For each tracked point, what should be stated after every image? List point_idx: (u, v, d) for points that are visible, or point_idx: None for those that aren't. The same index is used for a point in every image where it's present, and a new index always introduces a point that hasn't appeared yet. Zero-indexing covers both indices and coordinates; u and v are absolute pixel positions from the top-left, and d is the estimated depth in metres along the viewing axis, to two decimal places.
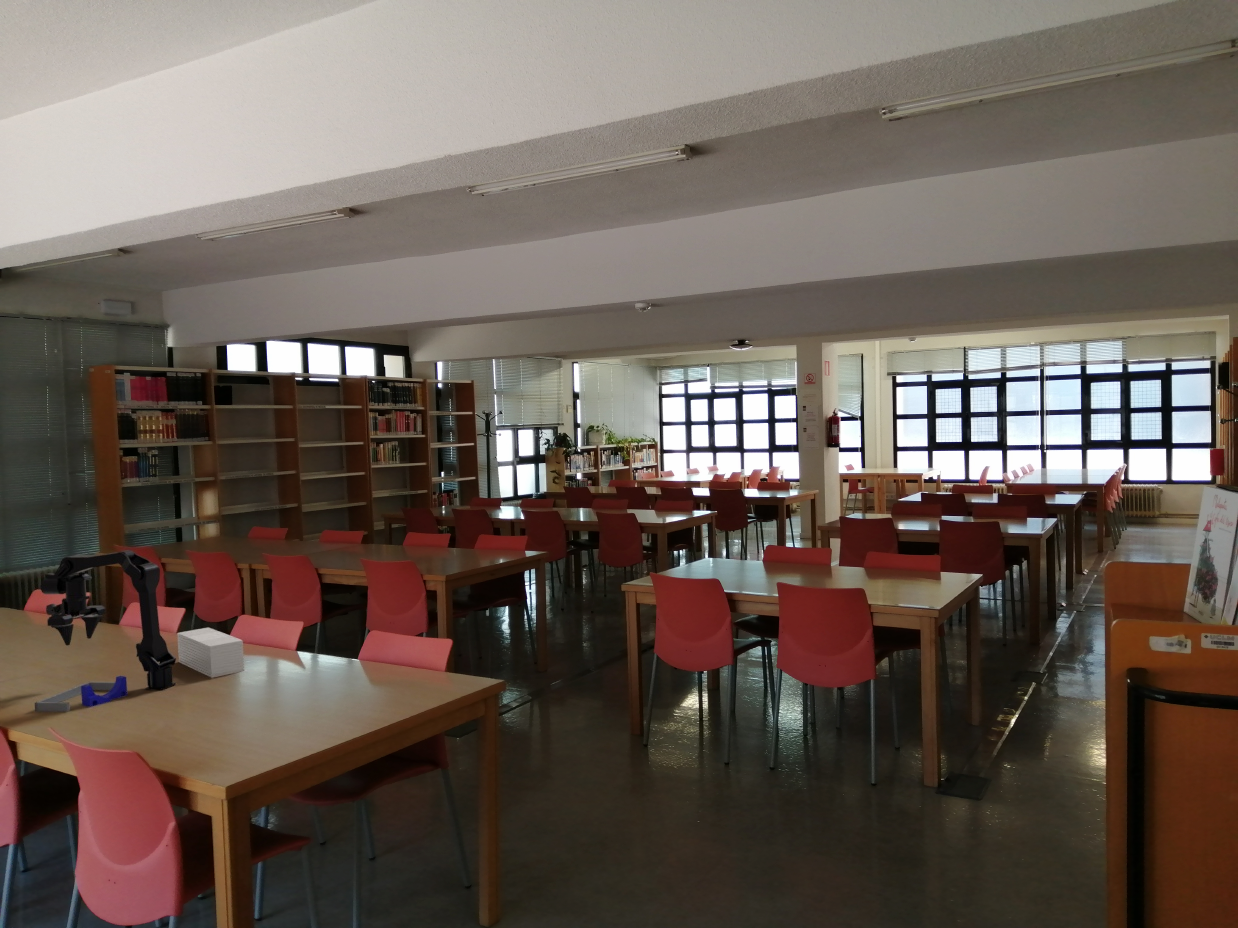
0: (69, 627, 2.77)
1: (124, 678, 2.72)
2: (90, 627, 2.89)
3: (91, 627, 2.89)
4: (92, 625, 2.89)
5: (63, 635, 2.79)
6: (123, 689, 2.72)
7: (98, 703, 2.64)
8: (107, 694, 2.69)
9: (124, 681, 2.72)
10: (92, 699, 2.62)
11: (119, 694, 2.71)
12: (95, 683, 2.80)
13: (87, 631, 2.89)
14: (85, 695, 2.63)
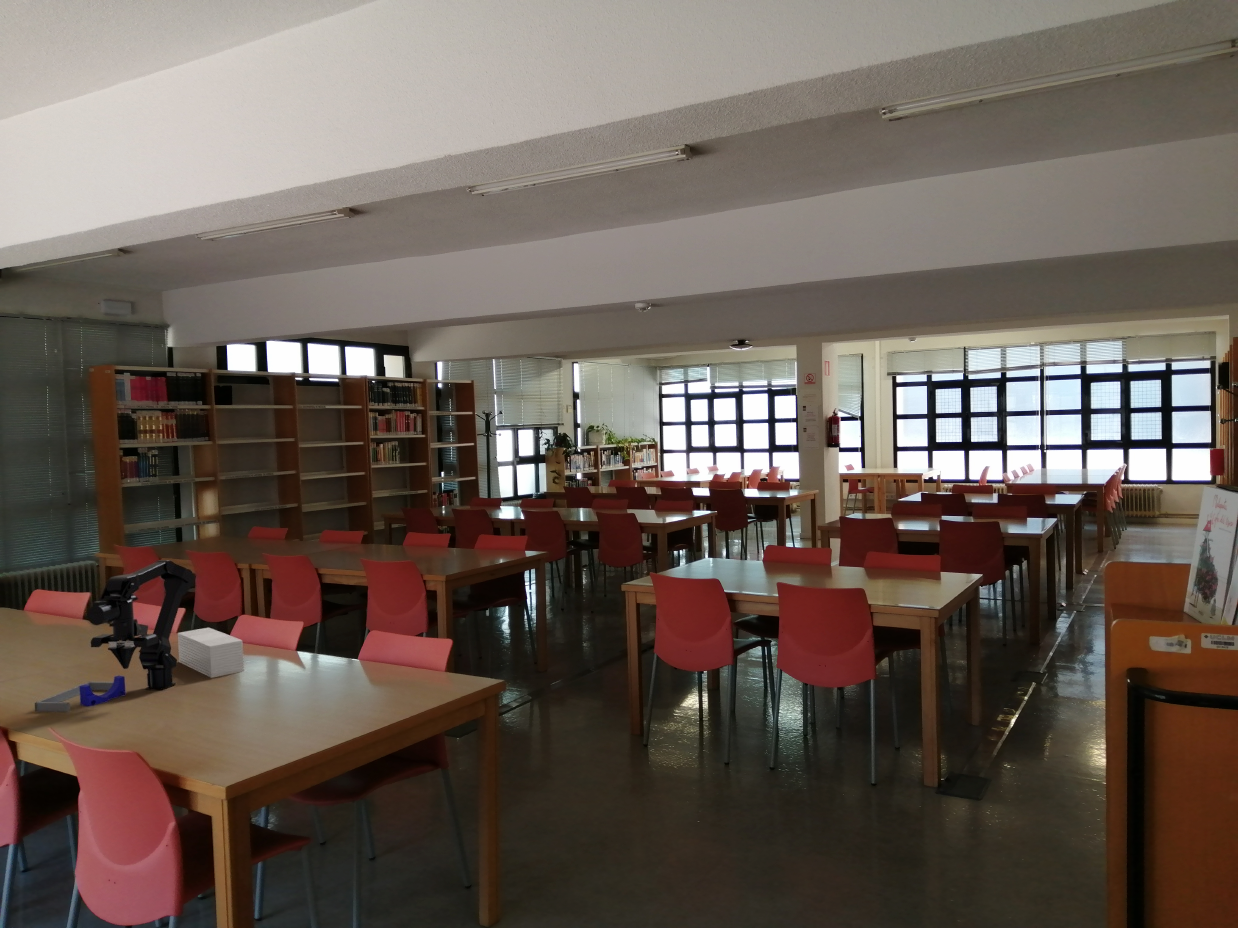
0: (111, 650, 2.64)
1: (122, 678, 2.73)
2: None
3: None
4: None
5: None
6: (121, 689, 2.72)
7: (96, 703, 2.64)
8: (105, 694, 2.70)
9: (122, 681, 2.73)
10: (90, 699, 2.63)
11: (117, 694, 2.71)
12: (95, 683, 2.80)
13: None
14: (83, 694, 2.64)
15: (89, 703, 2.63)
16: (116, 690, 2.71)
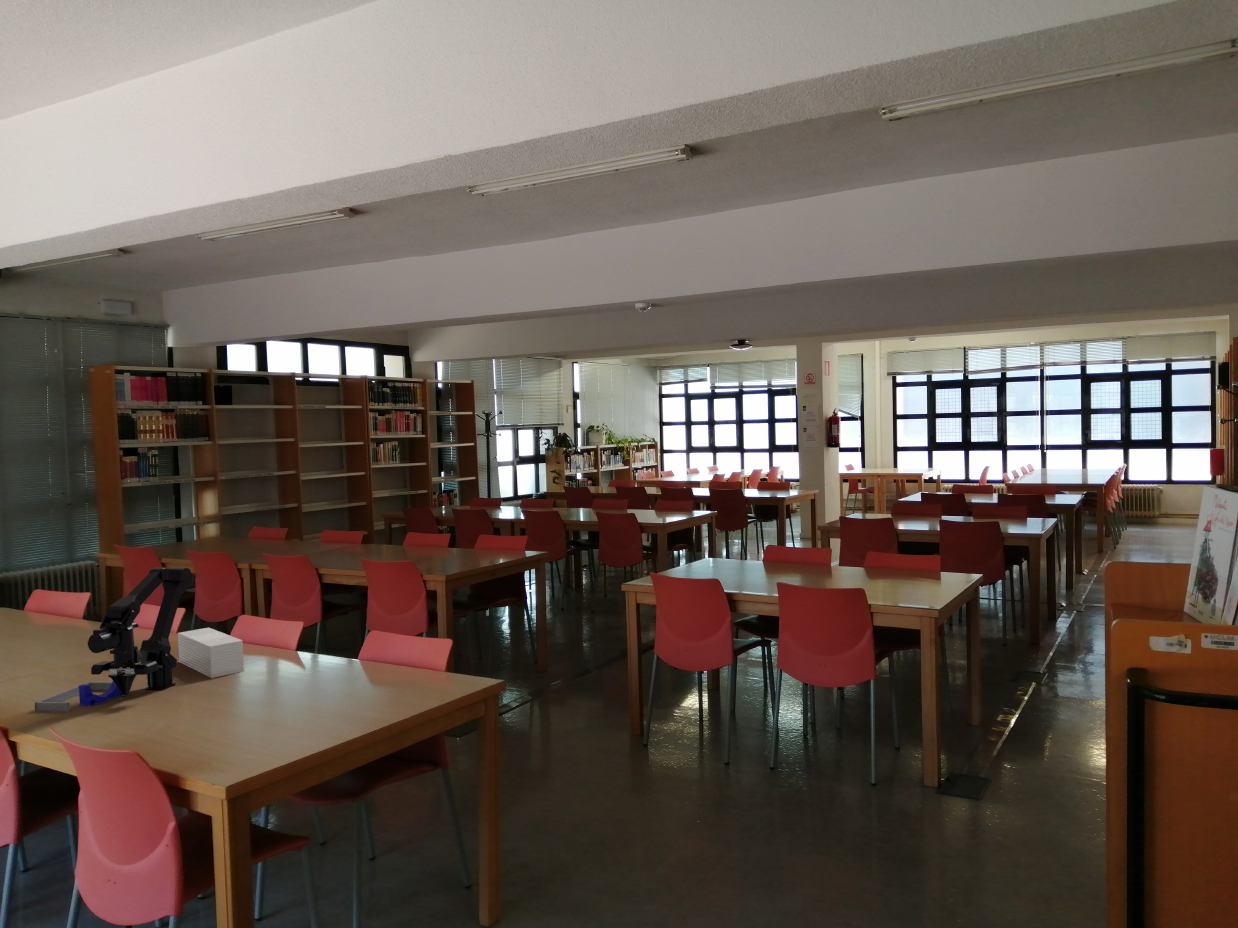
0: (111, 678, 2.64)
1: None
2: None
3: None
4: None
5: None
6: None
7: (96, 702, 2.65)
8: (104, 693, 2.70)
9: None
10: (90, 698, 2.63)
11: (116, 693, 2.72)
12: (95, 683, 2.80)
13: None
14: (82, 694, 2.64)
15: (88, 703, 2.63)
16: (115, 690, 2.71)
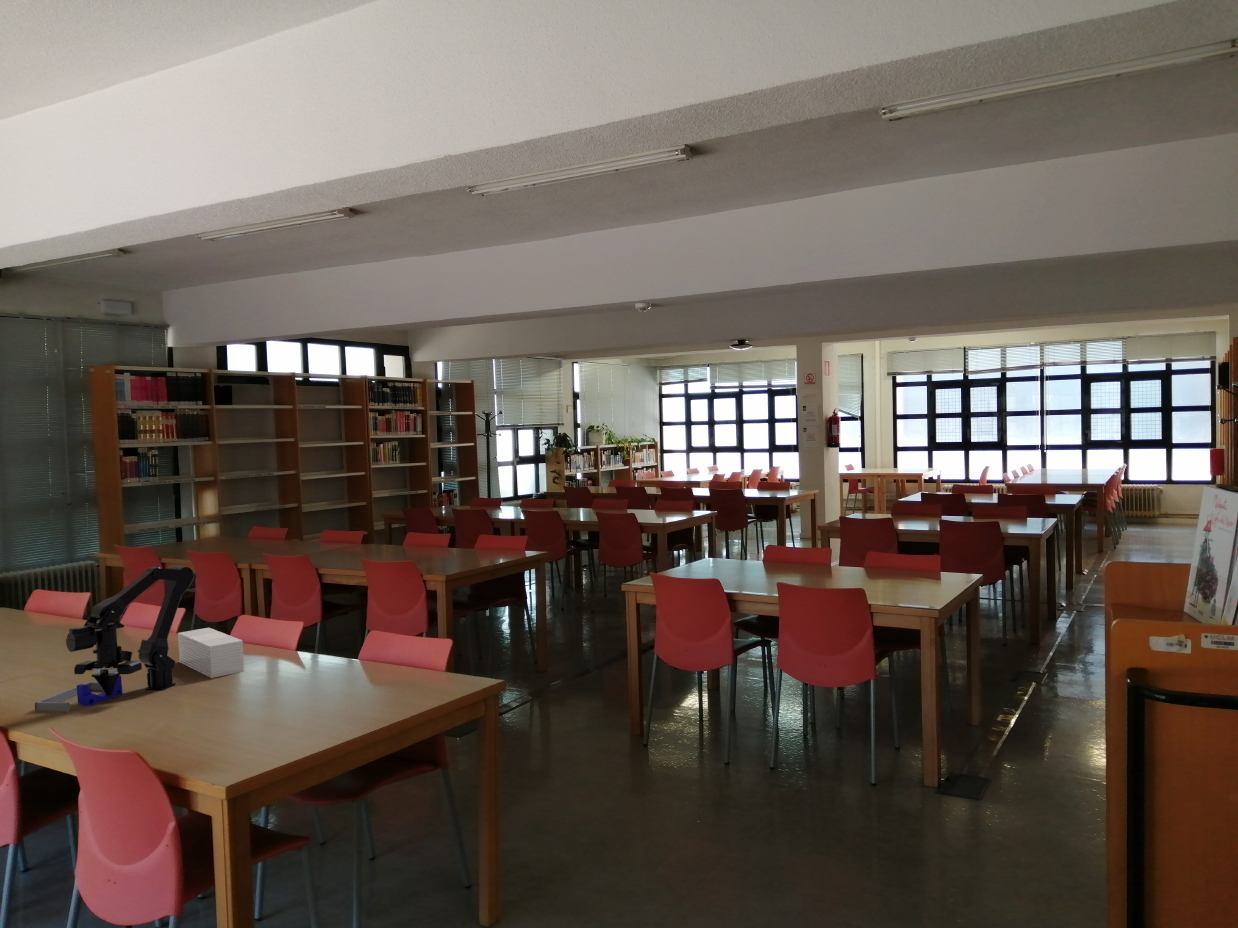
0: (95, 677, 2.65)
1: (119, 677, 2.73)
2: None
3: None
4: None
5: None
6: (118, 688, 2.73)
7: (94, 702, 2.65)
8: (102, 693, 2.70)
9: (119, 680, 2.73)
10: (88, 698, 2.63)
11: (114, 693, 2.72)
12: (95, 683, 2.80)
13: None
14: (81, 694, 2.64)
15: (87, 702, 2.63)
16: (113, 689, 2.72)
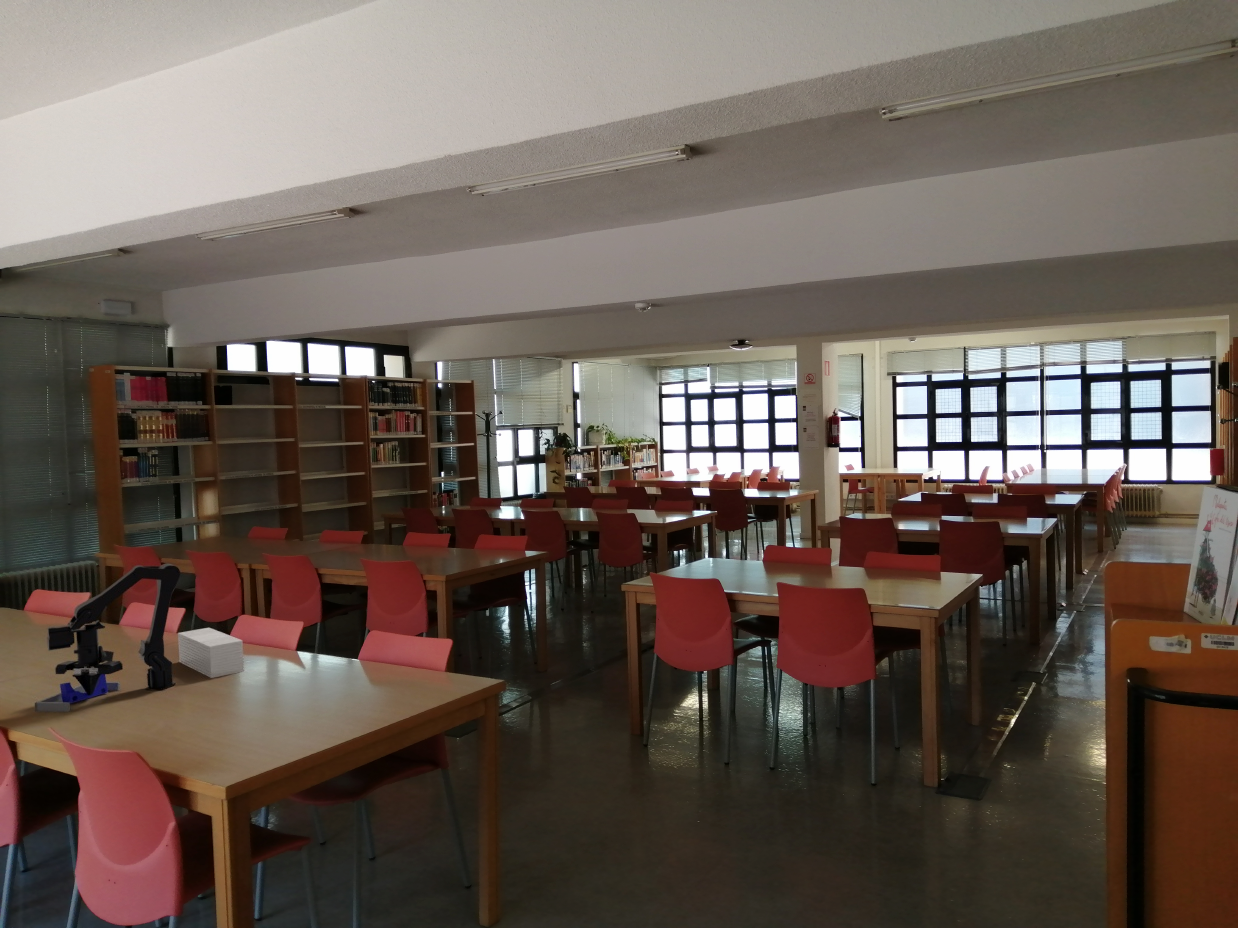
0: (76, 677, 2.66)
1: (103, 675, 2.75)
2: None
3: None
4: None
5: None
6: (103, 686, 2.75)
7: (78, 699, 2.66)
8: None
9: (103, 678, 2.75)
10: (72, 695, 2.65)
11: (99, 691, 2.73)
12: None
13: None
14: (64, 692, 2.66)
15: (70, 699, 2.65)
16: (97, 687, 2.73)
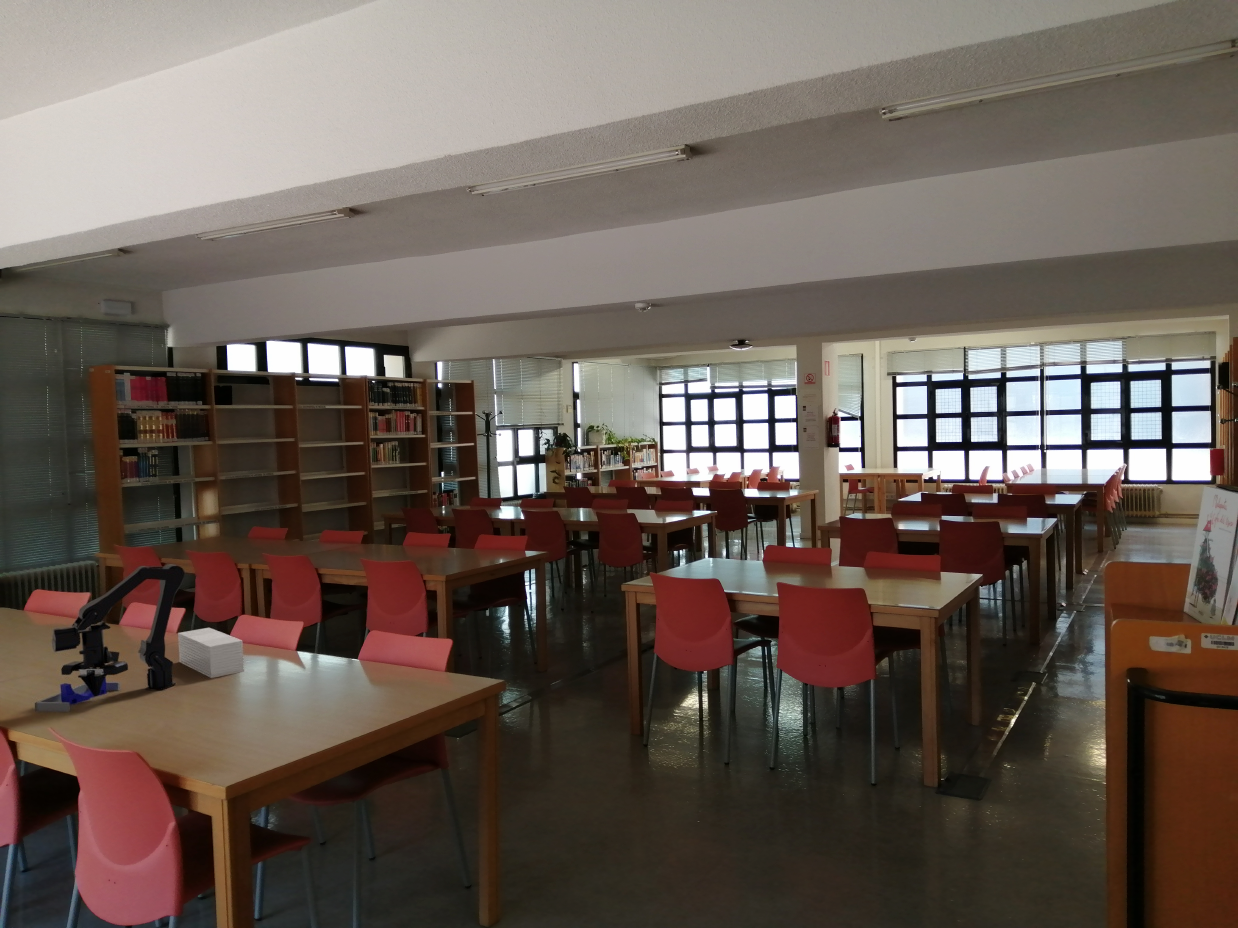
0: (81, 678, 2.66)
1: None
2: None
3: None
4: None
5: None
6: (102, 687, 2.75)
7: (77, 701, 2.67)
8: (86, 692, 2.72)
9: None
10: (71, 697, 2.65)
11: None
12: None
13: None
14: (64, 693, 2.66)
15: (70, 701, 2.65)
16: None
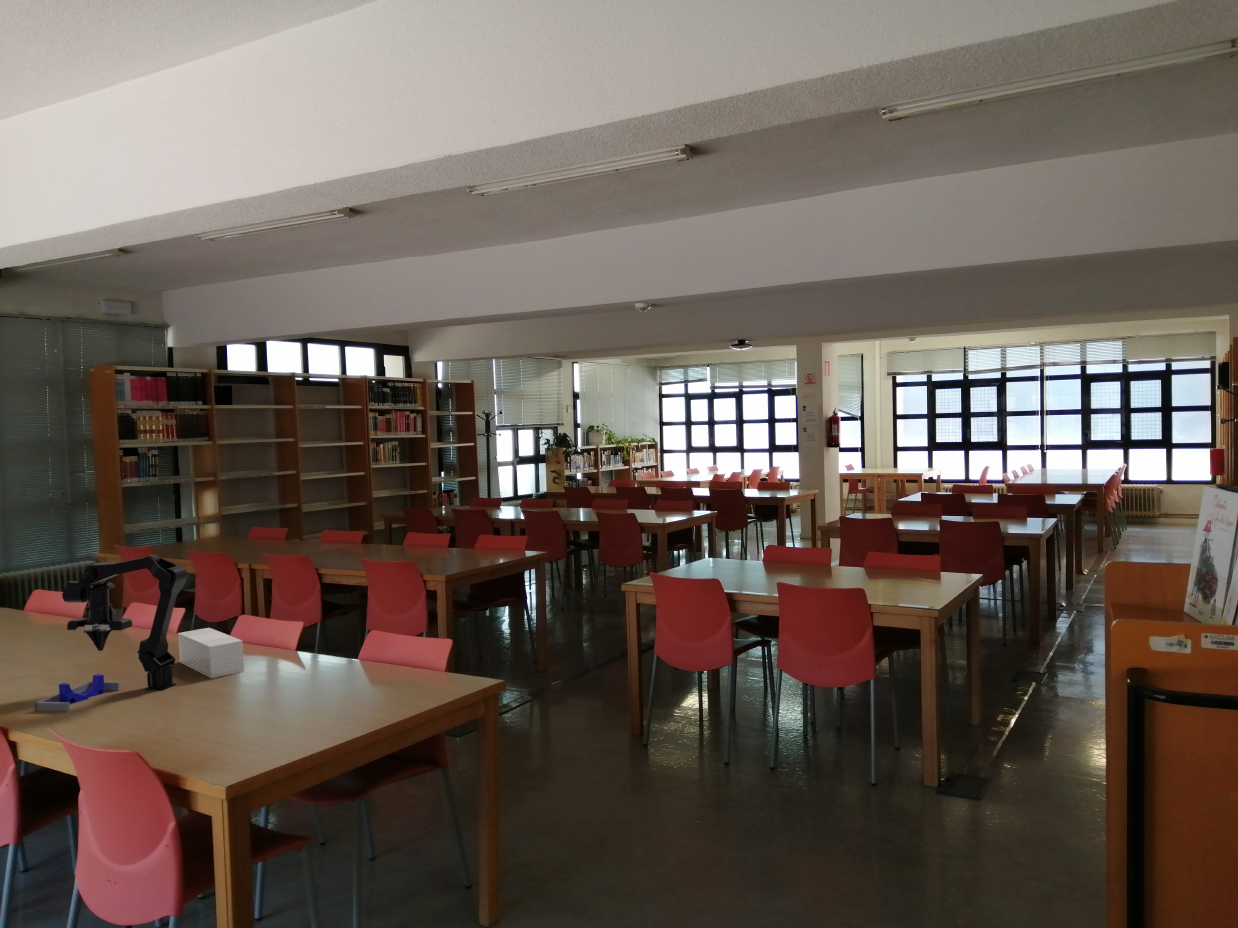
0: (87, 633, 2.79)
1: (101, 676, 2.76)
2: None
3: None
4: None
5: None
6: (100, 687, 2.75)
7: (76, 701, 2.67)
8: (84, 692, 2.73)
9: (101, 679, 2.76)
10: (70, 697, 2.66)
11: (96, 692, 2.74)
12: None
13: None
14: (63, 693, 2.66)
15: (69, 701, 2.65)
16: (95, 688, 2.74)
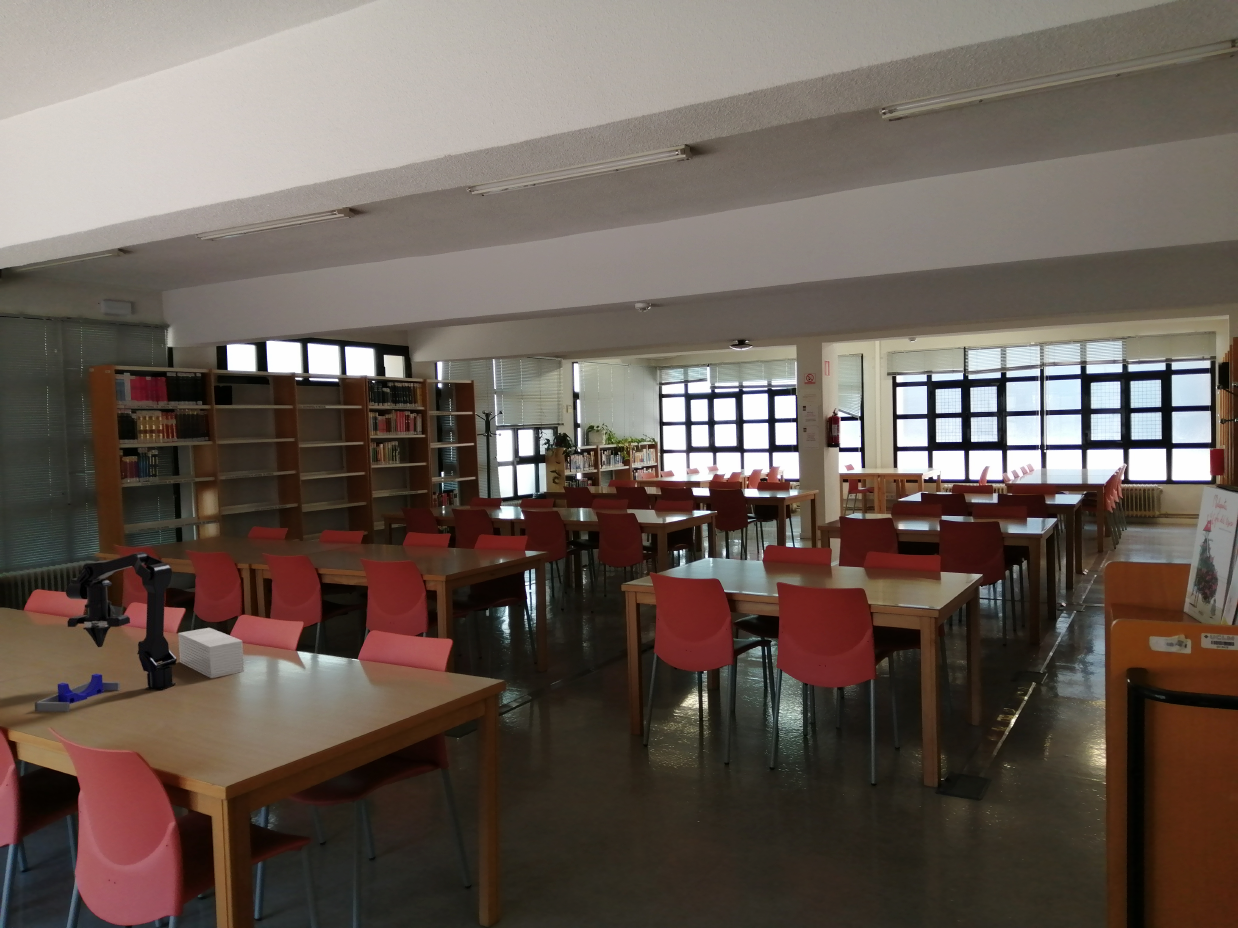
0: (86, 630, 2.85)
1: (100, 676, 2.76)
2: None
3: None
4: None
5: None
6: (99, 687, 2.76)
7: (75, 701, 2.67)
8: (83, 692, 2.73)
9: (100, 679, 2.76)
10: (69, 697, 2.66)
11: (95, 692, 2.75)
12: None
13: None
14: (62, 693, 2.66)
15: (68, 701, 2.66)
16: (94, 688, 2.74)
